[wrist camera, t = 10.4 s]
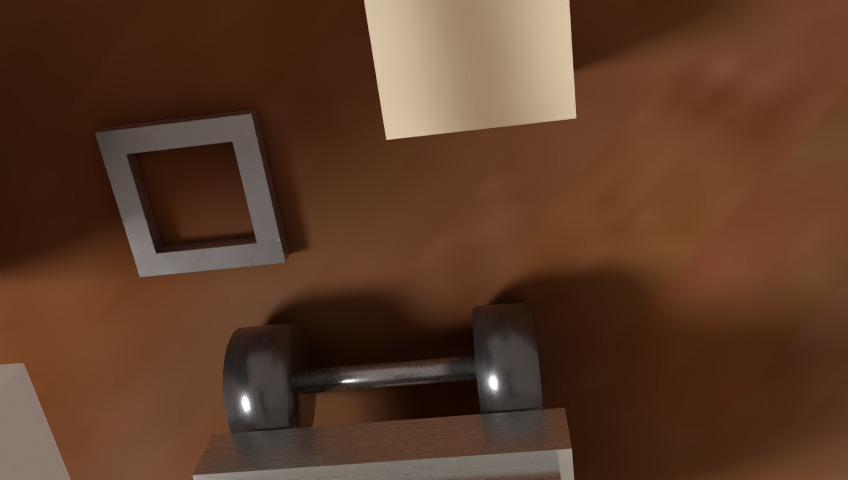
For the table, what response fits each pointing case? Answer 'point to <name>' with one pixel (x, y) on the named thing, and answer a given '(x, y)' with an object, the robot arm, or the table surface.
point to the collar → (137, 210)
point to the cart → (390, 440)
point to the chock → (471, 63)
